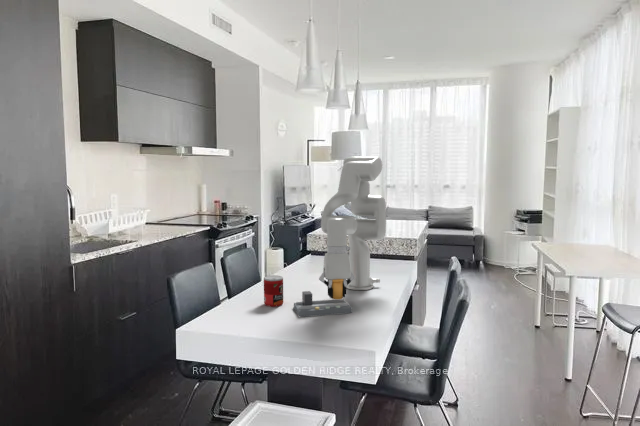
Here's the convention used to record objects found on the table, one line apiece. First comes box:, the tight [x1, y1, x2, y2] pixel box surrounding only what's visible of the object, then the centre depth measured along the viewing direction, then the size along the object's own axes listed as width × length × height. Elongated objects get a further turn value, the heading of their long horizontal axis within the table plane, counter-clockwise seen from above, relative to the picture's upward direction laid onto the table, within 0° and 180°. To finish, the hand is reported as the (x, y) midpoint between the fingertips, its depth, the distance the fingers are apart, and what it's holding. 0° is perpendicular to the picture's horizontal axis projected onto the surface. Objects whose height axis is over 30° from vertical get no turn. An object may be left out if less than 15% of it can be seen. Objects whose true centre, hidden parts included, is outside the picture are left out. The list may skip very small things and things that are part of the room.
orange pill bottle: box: [331, 279, 344, 299], centre depth 179 cm, size 5×5×8 cm
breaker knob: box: [301, 290, 313, 306], centre depth 177 cm, size 3×4×5 cm
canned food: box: [263, 274, 284, 308], centre depth 187 cm, size 8×8×11 cm
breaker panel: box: [293, 297, 353, 318], centre depth 178 cm, size 20×12×3 cm, turn 103°
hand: (337, 296), depth 179 cm, fingers closed on orange pill bottle, 4 cm apart
